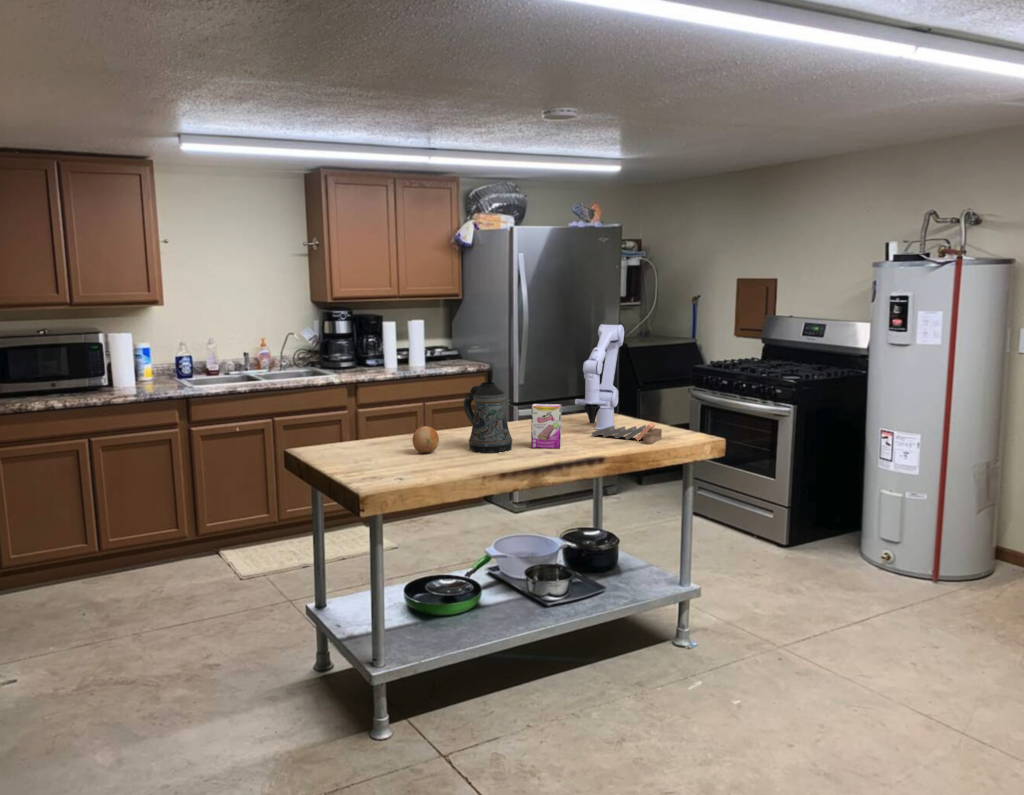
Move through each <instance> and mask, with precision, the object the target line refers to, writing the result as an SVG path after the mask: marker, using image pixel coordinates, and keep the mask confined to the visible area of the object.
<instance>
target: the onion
mask: <svg viewBox="0 0 1024 795" xmlns="http://www.w3.org/2000/svg"><path fill="white" fill-rule="evenodd" d="M412 435H413V436H412V444H413V448H414V449H415V450H416V451H417V452H418V453H421V454H428V453H432V452H434V451H435V450H436V449H437V448H438V447H439V443H440V438H439V434H438V432H437V431H436V429H435V428H433V427H432V426H429V425H428V426H427V425H426V426H425V425H424V426H419V427H418V428H417V429H416V430H415V431H414V433H413V434H412Z"/></svg>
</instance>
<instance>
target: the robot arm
mask: <svg viewBox="0 0 1024 795" xmlns="http://www.w3.org/2000/svg"><path fill="white" fill-rule="evenodd" d="M597 333H598V338H599V340H598V342H597V345H596V347H594V348H593V349H592V351H591V353H590V355H589V357H588V359H586V360H585V361H584V362H583V365H582V366H583V367H582V372H583V378H584V380H585V381H584V383H585V388H584V390H585V392H584V393H585V395H584V398H581V399H580V398H575V399H574V405H581V406H582V405H583V407H584V410H585V412H586V414H587V417H588V421H589V424H595V423H596V424H595V428H594V429H595V430H601V429H604V428H607V427H610V426H614V427H616V424H614V423H615V408H616V407H617V406H618V403H619V390H618V388H617V387H615V386H614V381H615V374H616V368H617V360H618V352H619V348H620V347H622V346H623V343H624V338H625V328H624V326H623V324H602V323H601V324H600V325H599V326H598V331H597ZM603 362H604V363H603ZM601 374H602V377H601V376H600V375H601ZM600 377H601V383H600Z"/></svg>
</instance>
